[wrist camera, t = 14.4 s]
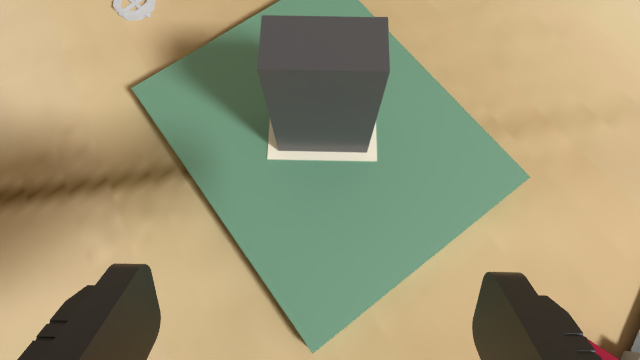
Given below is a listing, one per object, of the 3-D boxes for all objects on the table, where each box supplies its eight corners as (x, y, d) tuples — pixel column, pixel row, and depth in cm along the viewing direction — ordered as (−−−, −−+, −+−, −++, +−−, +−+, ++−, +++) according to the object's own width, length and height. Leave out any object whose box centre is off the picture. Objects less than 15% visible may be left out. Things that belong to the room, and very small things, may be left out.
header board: (140, 98, 30) (110, 63, 26) (329, -15, 33) (330, -63, 29) (313, 351, 24) (311, 359, 20) (519, 184, 28) (555, 160, 24)
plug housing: (366, 152, 27) (389, 71, 18) (278, 150, 27) (256, 69, 18) (366, 112, 28) (388, 17, 19) (280, 111, 28) (261, 15, 19)
